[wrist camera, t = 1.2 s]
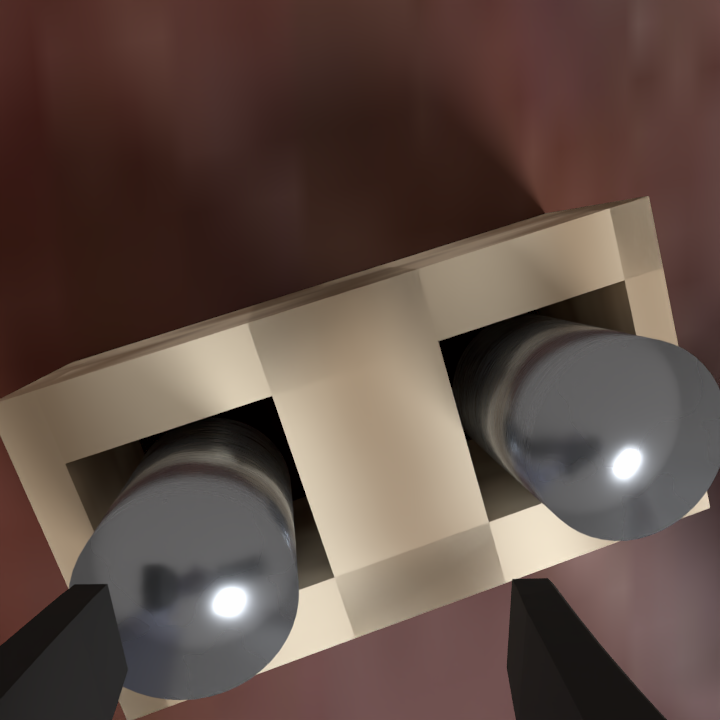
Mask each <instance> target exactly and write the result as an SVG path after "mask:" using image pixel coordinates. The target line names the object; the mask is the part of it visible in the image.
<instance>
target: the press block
mask: <svg viewBox="0 0 720 720" xmlns="http://www.w3.org/2000/svg"><path fill="white" fill-rule="evenodd" d="M535 309H538V310H539V314H540V315H542V316H547V317H552V318H557V319H562V320H566V321H571V322H576V323H581V324H585V325H590V326H595V327H600V328H605V329H609V330H614V331H619V332H624V333H628V334H633V335H638V336H643V337H648V338H652V339H657V340H662V341H665V342H668V343H671V344H674V345H676V346H678V342H677V337H676V332H675V327H674V322H673V317H672V312H671V307H670V301H669V296H668V291H667V286H666V281H665V276H664V271H663V266H662V261H661V256H660V251H659V246H658V241H657V236H656V230H655V225H654V220H653V215H652V210H651V205H650V200H649V196H646V197H640V198H634V199H628V200H622V201H616V202H610V203H605V204H599V205H593V206H587V207H581V208H575V209H569V210H563V211H557V212H551V213H546V214H543V215H539V216H536V217H533V218H530V219H527V220H523V221H520V222H517V223H514V224H511V225H508V226H504V227H501V228H498V229H495V230H492V231H488V232H485V233H482V234H479V235H476V236H473V237H469V238H466V239H463V240H460V241H457V242H453V243H450V244H447V245H444V246H441V247H438V248H434V249H431V250H428V251H425V252H422V253H418V254H415V255H412V256H409V257H406V258H403V259H399V260H396V261H393V262H390V263H387V264H384V265H380V266H377V267H374V268H371V269H368V270H364V271H361V272H358V273H355V274H352V275H349V276H345V277H342V278H339V279H336V280H333V281H329V282H326V283H323V284H320V285H317V286H314V287H310V288H307V289H304V290H301V291H298V292H294V293H291V294H288V295H285V296H282V297H279V298H275V299H272V300H269V301H266V302H263V303H259V304H256V305H253V306H250V307H247V308H244V309H240V310H237V311H234V312H231V313H228V314H225V315H221V316H218V317H215V318H212V319H209V320H205V321H202V322H199V323H196V324H193V325H190V326H186V327H183V328H180V329H177V330H174V331H170V332H167V333H164V334H161V335H158V336H155V337H151V338H148V339H145V340H142V341H139V342H135V343H132V344H129V345H126V346H123V347H120V348H116V349H113V350H110V351H107V352H104V353H100V354H97V355H94V356H91V357H88V358H85V359H81V360H78V361H75V362H72V363H70V364H68V365H66V366H64V367H62V368H60V369H58V370H56V371H54V372H52V373H50V374H48V375H46V376H44V377H42V378H40V379H38V380H36V381H34V382H32V383H30V384H28V385H27V386H25V387H23V388H21V389H19V390H17V391H15V392H13V393H11V394H9V395H7V396H5V397H3V398H1V399H0V436H1V438H2V440H3V442H4V445H5V447H6V449H7V451H8V454H9V456H10V458H11V460H12V463H13V465H14V467H15V469H16V472H17V474H18V476H19V478H20V481H21V483H22V485H23V487H24V489H25V492H26V494H27V496H28V498H29V501H30V503H31V505H32V507H33V510H34V512H35V514H36V516H37V519H38V521H39V523H40V525H41V528H42V530H43V532H44V534H45V537H46V539H47V541H48V543H49V546H50V548H51V550H52V552H53V555H54V557H55V559H56V561H57V564H58V566H59V568H60V570H61V573H62V575H63V577H64V579H65V582H66V584H67V586H68V588H69V583H70V579H71V576H72V572H73V569H74V566H75V564H76V561H77V559H78V557H79V555H80V553H81V552H82V550H83V548H84V547H85V545H86V543H87V542H88V540H89V539H90V537H91V536H92V534H93V533H94V531H95V530H96V528H97V527H98V525H99V524H100V522H101V521H102V519H103V518H104V516H105V515H106V513H107V511H108V510H109V508H110V507H111V505H112V504H113V502H114V501H115V499H116V498H117V496H118V495H119V493H120V492H121V490H122V489H123V487H124V486H125V484H126V483H127V481H128V480H129V478H130V477H131V475H132V474H133V472H134V471H135V469H136V468H137V466H138V465H139V463H140V462H141V460H142V459H143V457H144V456H145V454H144V452H143V449H142V446H141V444H140V441H139V439H142V438H145V437H148V436H151V435H154V434H158V433H161V432H164V431H167V430H170V429H173V428H176V427H179V426H182V425H185V424H188V423H191V422H194V421H197V420H200V419H203V418H206V417H209V416H212V415H215V414H218V413H222V412H225V411H228V410H231V409H234V408H237V407H240V406H243V405H246V404H249V403H252V402H255V401H258V400H261V399H264V398H267V397H270V396H272V397H273V400H274V403H275V406H276V409H277V412H278V414H279V417H280V420H281V423H282V426H283V429H284V432H285V435H286V438H287V441H288V444H289V446H290V449H291V452H292V455H293V458H294V461H295V464H296V467H297V470H298V473H299V476H300V478H301V481H302V484H303V487H304V490H305V493H306V497H303V498H300V499H297V500H294V501H292V502H293V515H294V528H295V541H296V555H297V568H298V581H299V602H298V609H297V614H296V618H295V621H294V624H293V627H292V629H291V632H290V634H289V636H288V638H287V640H286V642H285V643H284V645H283V646H282V648H281V650H280V651H279V652H278V653H277V655H276V656H275V657H274V658H273V660H272V661H271V662H270V663H269V664H268V665H267V666H266V667H264V668H263V669H262V670H261V671H260V672H259V673H262V672H264V671H267V670H270V669H273V668H275V667H278V666H281V665H283V664H286V663H289V662H292V661H294V660H297V659H300V658H303V657H305V656H308V655H311V654H313V653H316V652H319V651H322V650H324V649H327V648H330V647H333V646H335V645H338V644H341V643H343V642H346V641H349V640H352V639H354V638H357V637H360V636H362V635H365V634H368V633H371V632H373V631H376V630H379V629H382V628H384V627H387V626H390V625H392V624H395V623H398V622H401V621H403V620H406V619H409V618H411V617H414V616H417V615H420V614H422V613H425V612H428V611H431V610H433V609H436V608H439V607H441V606H444V605H447V604H450V603H452V602H455V601H458V600H461V599H463V598H466V597H469V596H471V595H474V594H477V593H480V592H482V591H485V590H488V589H490V588H493V587H496V586H499V585H501V584H504V583H507V582H510V581H512V579H518V578H520V577H523V576H526V575H529V574H531V573H534V572H537V571H539V570H542V569H545V568H548V567H550V566H553V565H556V564H559V563H561V562H564V561H567V560H569V559H572V558H575V557H578V556H580V555H583V554H586V553H589V552H591V551H594V550H597V549H599V548H602V547H605V546H608V545H610V544H613V543H616V542H618V541H610V540H601V539H597V538H593V537H590V536H587V535H585V534H582V533H580V532H578V531H576V530H574V529H573V528H571V527H569V526H568V525H567V524H565V523H564V522H563V521H562V520H560V519H559V518H558V517H557V516H556V515H555V514H554V513H552V512H551V511H550V510H549V509H548V508H547V507H546V506H545V505H544V504H543V503H541V502H540V501H539V500H538V499H537V498H536V497H535V496H534V495H533V494H532V493H530V492H529V491H528V490H527V489H526V488H525V487H524V486H523V485H522V484H521V483H520V482H518V481H517V480H516V479H515V478H514V477H513V476H512V475H511V474H510V473H509V472H507V471H506V470H505V469H504V468H503V467H502V466H501V465H500V464H499V463H498V462H496V461H495V460H494V459H493V458H492V457H491V456H490V455H489V454H488V453H487V452H485V451H484V450H483V449H482V448H481V447H480V446H479V445H478V444H477V443H476V442H474V441H473V440H469V441H466V439H465V435H464V432H463V428H462V424H461V421H460V417H459V414H458V410H457V407H456V403H455V399H454V396H453V392H452V389H451V385H450V382H449V378H448V374H447V371H446V367H445V364H444V360H443V357H442V353H441V349H440V346H439V342H438V341H441V340H444V339H447V338H450V337H453V336H456V335H459V334H462V333H465V332H468V331H471V330H474V329H477V328H480V327H484V326H487V325H490V324H493V323H496V322H499V321H502V320H505V319H508V318H511V317H514V316H517V315H520V314H523V313H526V312H529V311H532V310H535ZM708 508H710V504H709V499H708V494H707V492H706V493H705V495H704V496H703V497H702V498H701V500H700V501H699V502H698V503H697V504H696V505H695V507H693V508H692V509H691V510H690V511H689V512H688V513H687V514H686V515H685V516H684V517H687V516H689V515H692V514H695V513H697V512H700V511H703V510H706V509H708ZM684 517H682V518H684ZM259 673H257V674H259ZM183 701H185V700H167V699H160V698H154V697H150V696H146V695H143V694H139V693H136V692H134V691H132V690H129V689H127V688H125V687H123V688H122V691H121V694H120V697H119V703H120V705H121V707H122V709H123V712H124V714H125V716H126V718H127V720H134V719H136V718H139V717H142V716H145V715H147V714H150V713H153V712H155V711H158V710H161V709H164V708H166V707H169V706H172V705H175V704H177V703H180V702H183Z"/></svg>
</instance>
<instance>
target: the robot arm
mask: <svg viewBox="0 0 720 720" xmlns="http://www.w3.org/2000/svg"><path fill="white" fill-rule="evenodd" d="M127 671H128V667H127V663H126V659H125V655H124V650H123V646H122V642H121V638H120V634H119V630H118V625H117V621H116V617H115V613H114V609H113V604H112V600H111V596H110V592H109V588H108V584H74V585H73V586H72V587H71V588H69V589H68V590H67V591H65V592H64V593H63V594H62V595H60V596H59V597H58V598H57V599H56V600H54V601H53V602H52V603H51V604H50V605H48V606H47V607H46V608H45V609H44V610H42V611H41V612H40V613H39V614H38V615H37V616H35V617H34V618H33V619H32V620H31V621H29V622H28V623H27V624H26V625H25V626H24V627H22V628H21V629H20V630H19V631H18V632H16V633H15V634H14V635H13V636H12V637H11V638H9V639H8V640H7V641H6V642H5V643H3V644H2V645H1V646H0V720H112V718H113V715H114V712H115V709H116V706H117V704H118V700H119V697H120V694H121V691H122V688H123V684H124V681H125V678H126V675H127ZM507 671H508V677H509V683H510V689H511V694H512V700H513V706H514V711H515V717H516V720H667V719H666V718H665V717H664V716H663V715H662V714H661V713H660V712H659V711H658V710H657V709H656V708H655V706H654V705H653V704H652V703H651V702H650V701H649V700H648V699H647V698H646V697H645V695H644V694H643V693H642V692H641V691H640V690H639V689H638V688H637V687H636V685H635V684H634V683H633V682H632V681H631V680H630V678H629V677H628V676H627V675H626V674H625V673H624V672H623V670H622V669H621V668H620V667H619V666H618V665H617V663H616V662H615V661H614V660H613V659H612V658H611V657H610V655H609V654H608V653H607V652H606V651H605V649H604V648H603V647H602V646H601V645H600V643H599V642H598V641H597V640H596V638H595V637H594V636H593V635H592V633H591V632H590V631H589V630H588V628H587V627H586V626H585V625H584V623H583V622H582V621H581V620H580V618H579V617H578V616H577V614H576V613H575V612H574V611H573V609H572V608H571V607H570V605H569V604H568V603H567V601H566V600H565V599H564V597H563V596H562V595H561V593H560V592H559V591H558V589H557V588H556V587H555V585H554V584H553V583H552V582H551V581H550V580H549V579H548V578H543V579H512V591H511V608H510V624H509V640H508V656H507Z"/></svg>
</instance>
